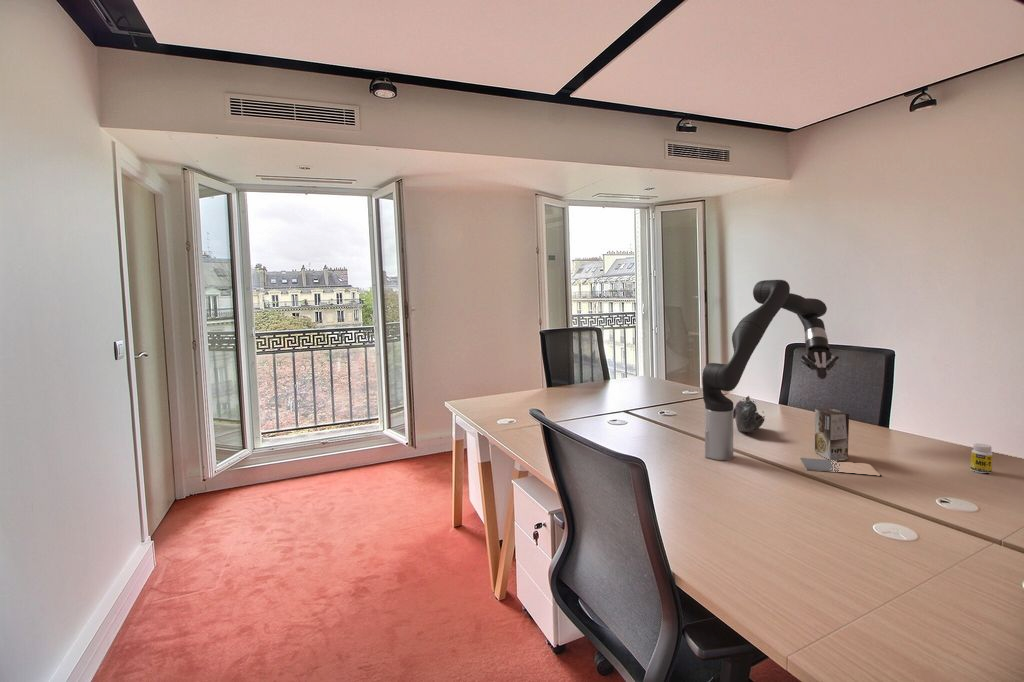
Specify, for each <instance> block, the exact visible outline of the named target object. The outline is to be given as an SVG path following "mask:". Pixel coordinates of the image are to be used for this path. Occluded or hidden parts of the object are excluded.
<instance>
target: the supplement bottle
mask: <svg viewBox="0 0 1024 682" xmlns="http://www.w3.org/2000/svg"><path fill="white" fill-rule="evenodd" d="M970 452H971V453H970V468H969V469H970V471H972V470H973V471H972V472H974V471H975V472H974V473H977V472H979V473H978V474H981V473H990V474H991V473H992V472H993V471H992V470H993V452H992V445H989V444H986V443H976V442H975V443H973V449H971V451H970Z"/></svg>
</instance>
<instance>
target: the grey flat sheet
mask: <svg viewBox="0 0 1024 682" xmlns="http://www.w3.org/2000/svg"><path fill="white" fill-rule="evenodd" d="M800 461H801V463H802V464H803V463H804V464H803V466H804V465H805V466H804V468H805V467H806V468H805V470H806V469H807V470H806V471H809V470H821V471H833V466H832V465H833V464H834V463H833V462H834V461H836V460H834V461H833V460H832V461H833V462H832V461H831V460H828V459H824V458H823V459H822V458H813V457H812V458H811V457H810V458H809V457H800ZM831 462H832V464H831ZM837 463H838V462H837ZM837 463H835V464H834V468H835V469H837V468H836V467H835V465H837ZM839 466H840V464H839ZM837 467H838V466H837ZM831 468H832V469H831ZM830 469H831V470H830ZM835 469H834V471H835V472H836V471H837V472H838V471H839V470H838V469H839V468H838V469H837V470H835ZM821 471H820V472H821Z"/></svg>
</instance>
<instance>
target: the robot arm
mask: <svg viewBox="0 0 1024 682" xmlns="http://www.w3.org/2000/svg"><path fill="white" fill-rule="evenodd" d="M790 292H791V287H790V284H789V283H788V282H787V281H786V280H784V279H768V280H767V279H764V280H760V281H758V282H756V284H754V287H753V288H752V296H753V299H754V300H755V302H756V303H758V304H761V305H760V306H759V307H757V308H756V309H754V310H753V311H751V312H750V313H748V314H747V315H745V316H744V317H743V318H741V319H740V320H739V322H738V323H737V325H736V327H735V329H734V330H733V333H732V334H731V335H732V336H731V343H732V348H733V354H732V357H731V358H730V360H729V361H728V362H727V363H726V364H725V363H719V362H718V363H716V362H711V363H707V364H706V365H705V366H704V368H703V371H702V376H701V377H702V378H701V381H702V382H701V383H702V399H703V403H704V408H705V410H704V412H705V413H704V416H705V417H704V418H705V419H704V425H705V427H704V458H708V459H712V460H716V461H717V460H718V461H727V460H732V459H734V419H733V410H734V402H733V401H732V399H730V398H728V397H727V396H726V395H725V394H724V393H723V392H731V391H733V390H735V389H736V387H737V386H738V385H739V383H740V382H741V381H740V380H741V378H742V376H743V374H744V372H745V370H746V367H747V365H748V363H749V361H750V358H751V357H752V355H753V353H754V351H755V350H756V348H757V347H758V345H759V343H760V341H762V338H763V336H764V335H765V333H766V331H767V330H768V327H769V326H770V325H771V323H772V322H773V319H774V318H775V317H776V315H778V312H779V311H780V310H781V309H783V310H785V311H788V312H791V313H793V314H795V315H797V317H798V319H799V320H800V322H801V323H802V326H803V330H804V343H805V347H806V348H805V349H806V355H802V356H801V357H800V362H801V363H802V364H803V365H805V366H806V367H807V368H809V369H810V370H811V371H814V370H815V371H816V376H817V378H819V380H825V378H827V375H828V373H827V371H830V370H832V368H834V366H835V365H836V364H837V363H838V361H839V359H840V357H839V356H838V355H836V356H834V355H833V353H832V352H831V350H830V349H831V348H830V346H829V345H830V343H829V340H828V335H827V332H826V328H825V327H826V326H825V323H824V321H823V320H822V319H821V318H820V317H823V316H825V314H826V313H827V312H828V311H827V309H828V307H827V305H826V303H825V302H824V301H822V300H821V299H818V298H811V297H808V298H807V297H804V296H802V295H799V294H796V293H792V292H791V293H790ZM829 361H830V362H829ZM828 362H829V363H828ZM827 363H828V364H827ZM722 391H723V392H722Z"/></svg>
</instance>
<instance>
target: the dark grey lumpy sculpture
mask: <svg viewBox="0 0 1024 682" xmlns="http://www.w3.org/2000/svg"><path fill="white" fill-rule="evenodd" d="M762 413H763V414H764V411H763V410H762ZM765 417H766V415H764V416H762V415H761V414H760V413H759V412H758V408H757V405H756V401H754V400H751V396H750V395H748V396H746V398H743V400H741V399H740V400H739V401H738V402H736V403H735V406H734V407H733V420H734V419H735V420H734V421H735V424H736V425H735V426H736V429H737V431H739V432H741V433H751V434H752V433H756V432H757V431H758V430H759V428H761V427H762V425H763V424H764V422H765Z"/></svg>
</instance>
